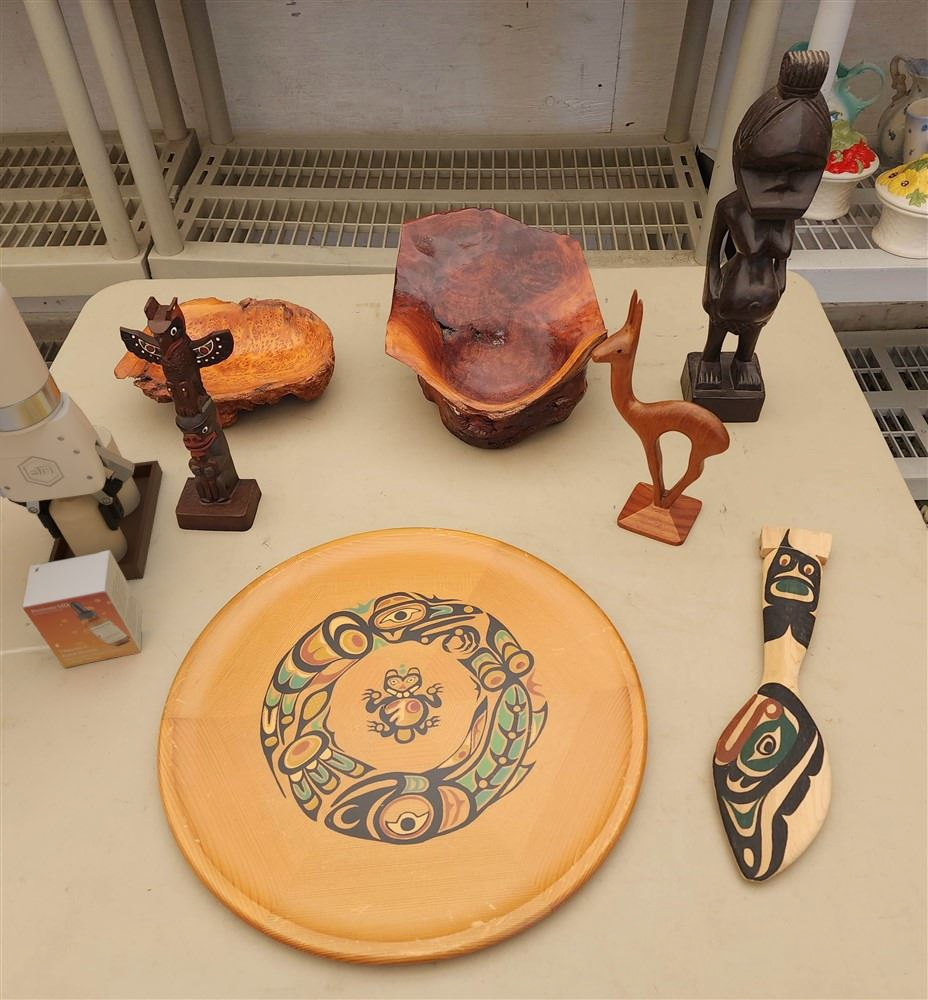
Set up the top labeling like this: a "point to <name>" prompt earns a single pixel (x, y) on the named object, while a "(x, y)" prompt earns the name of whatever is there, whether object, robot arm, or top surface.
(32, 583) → the small box
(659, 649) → the top surface
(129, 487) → the pillar
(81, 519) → the candle
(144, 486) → the tray
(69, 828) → the top surface
